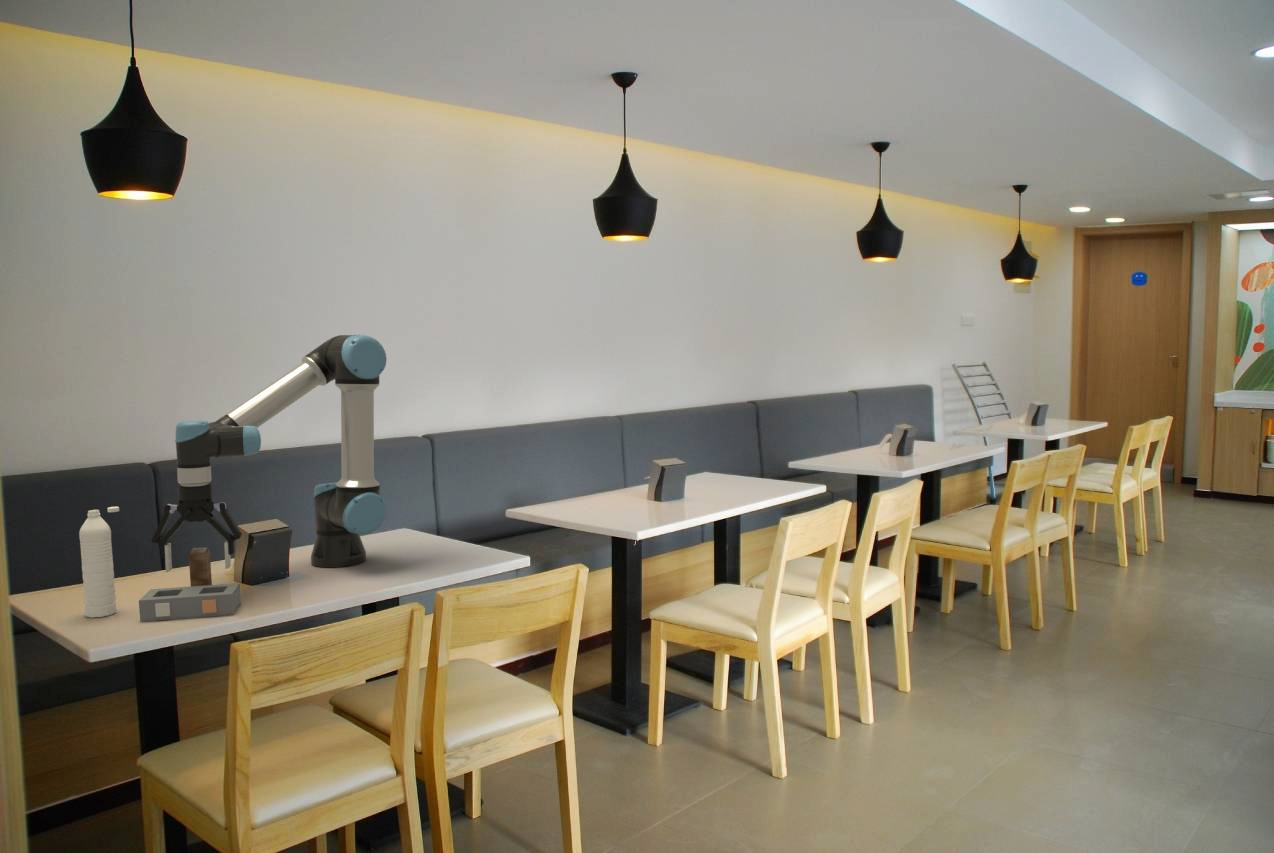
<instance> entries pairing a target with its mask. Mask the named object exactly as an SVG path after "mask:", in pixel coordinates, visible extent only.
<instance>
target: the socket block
mask: <svg viewBox="0 0 1274 853" xmlns="http://www.w3.org/2000/svg"><path fill="white" fill-rule="evenodd" d="M241 599H242V598H241V584H240V582H239V583H237V582H235V583H224V584H222V583H221V584H212V585H206V586H191V585H190V586H178V587H166V588H151V589H149V590H148V591H147V592H146V593H145V594H144V595H143V596H142V597H141V598H139V600H138V611H139V622H141V623H143V622H155V621H167V620H169V621H170V620H181V619H182V620H183V619H184V620H185V619H195V618H197V619H198V618H207V617H208V618H209V617H221V616H222V617H224V616H233V615H234V614H235V612H236V611H237V609H238V608H239V606H240V605H241Z"/></svg>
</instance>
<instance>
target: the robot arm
mask: <svg viewBox="0 0 1274 853" xmlns="http://www.w3.org/2000/svg"><path fill="white" fill-rule="evenodd" d="M386 366H387V353H386V350H385V347H383V344H381V343H380V341H378V339H376V338H373V337H372V336H370V335H365V334H351V335H350V334H348V335H346V334H343V335H341V334H340V335H336V336H334V337H333V336H332V337H331V338H329V339H328V340H326V341H324V342H323V343H321V344H320V345H319V346H317V347H316V348H314V349H313V350H312V351H309V353H307V354H306V355H305V356H303V357H302V358H301V363H299V364H298V365H296V366H294V367H293V368H291V370H289V371H287V372H286V373H285V374H283V375H282V376H280V377H279V378H277V379H276V380H274V381H273V382H271V383H270V384H268V385H267V386H266V387H264V388H262V389H261V390H259V391H258V392H257V393H255V394H254V395H253V396H251V397H250V398H248V399H246V400H245V401H243V402H242V403H240V404H239V405H237V406H236V407H235V408H233V409H232V410H230V411H229V412H228V413H226V414H225V415H223V416H221V417H219V418H218V419H217V420H216V421H213V422H212V421H211V422H209V421H207V420H201V419H200V420H184V421H179V422H177V424H176V425H175V439H174V440H175V441H174V442H175V450H176V451H175V452H176V463H177V464H176V467H177V468H176V472H177V483H178V486H177V490H178V491H177V492H178V493H177V494H178V504H172V503H167V504H166V505H165V506H164V508H163V509H164V511H163V515H162V517H161V519H160V521H159V524H158V526H157V528H156V529H155V532H154V534H153V536H152V537H151V539H150V540H151V543H152V544H158V545H159V547H160V548H159V549H160V550H159V551H160V557H161V559H164V558H165V560H164V561H165V573H168V572H171V571H172V570H173V563H172V562H173V561H172V543H171V542H169V540H170V539H171V538H172V537H173V536H174V534H175V533H176V532H177V531H178V530H179V529H180V527H181V526H182V525H183V524H184V523H185V522H186V521H187V522H188V523H194V522H198V523H199V522H200V523H202V522H204V521H206V522H207V523H208V524H210V525H211V526H212V527H213V528H214V529H215V530H216V531H217V532H218V533H219V534H220V535H221V536H222V537H223V538H224V539H225V540H226V541H224V544H223V545H224V567H225V568H224V569H225V570H228V569H230V568H231V567H232V564H231V561H232V560H231V555H233V554H235V541H236V540H239V539H240V538H242V537H243V534H242V532H241V529H239V526H238V525H237V524H236V522H235V521H234V519H233V517H232V515H231V514H230V512H229V510H228V506H227V504H228V503H227V502H226V501H221V502H217V503H215V502H214V501H213V489H212V488H213V487H212V483H210V482H211V481H212V462H211V460H212V459H217V458H231V457H247V456H253V455H254V456H255V455H257V454H258V453H259V452H260V450H261V445H262V438H261V434H260V433H261V432H260V431H259V429H258V428H259V427H260V426H263V425H264V424H265V423H267V422H268V421H269V420H271V419H273V418H274V417H275V416H276V415H278V414H280V413H281V412H282V411H284V410H285V409H287V408H288V407H290V406H291V405H292V404H294V403H295V402H297V401H298V400H299V399H301V398H302V397H304V396H305V395H307V394H308V393H309V392H311V391H312V390H314V389H315V388H317V387H319V386H323V387H325V386H326V385H327V384H329V383H330V382H333V381H334V385H335V386H336V387H337V388H338V389H339V390H340V417H341V418H340V426H341V427H340V430H341V432H340V433H341V435H340V436H341V437H340V438H341V441H340V442H341V445H340V448H341V462H340V463H341V465H340V466H341V478H340V479H339V480H338V481H336V482H329V483H328V482H327V483H320V484H317V485H315V487H314V492H313V500H314V517H315V518H314V520H315V532H316V533H315V535H316V536H315V540H314V544H313V549H312V552H311V555H310V564H311V565H312V566H314V567H319V568H342V567H349V566H355V565H358V564H360V563H363V562H365V561H366V560H367V551H366V548H365V546H364V543H363V540H362V538H361V536H360V535H370V534H372V533H374V532H375V531H377V530H378V529H379V528H380V526H382V525H383V523H384V522H385V519H386V517H387V513H388V512H387V511H388V510H387V503H386V501H385V500H384V498H383V497H382V496H381V495H380V494H381V493H380V492H381V490H380V482H379V481H378V480H377V479H376V478H375V452H374V451H375V435H374V432H375V430H374V429H375V428H374V426H375V425H374V424H375V422H374V420H375V419H374V418H375V414H374V413H375V412H374V410H375V408H374V406H375V401H374V398H375V397H374V396H375V395H374V393H375V390H376V389H377V388H378V387H379V386H380V375H382V373H383V372H384V370H385V368H386ZM215 509H216V511H217V512H220V515H221V516H222V518H223V519H224V522H225V524H226V525H227V527H228V528H229V530H228V528H226V527H225V525H224V524H222V523H221V521H219V520H218V519H217V518H216V516H215V515H214V514H213V511H214V510H215ZM175 511H177V512H178V513H179V514H180V515H181V516H180V517H179V518H178V520H177V521H176V522H175V523H174V524H173V526H172V527H171V528H170V529H169V530H168V532H167V533H166V534H164V536H163V537H162V535H163V532H164V530H165V529H166V527H167V524H168V522H169V521H170V518H171V516H172V514H174V513H175ZM230 531H231V532H230Z"/></svg>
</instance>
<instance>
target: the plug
mask: <svg viewBox="0 0 1274 853" xmlns="http://www.w3.org/2000/svg"><path fill="white" fill-rule="evenodd" d="M188 562H189V578H190V579H189V580H190V581H189V583H190V587H191V586H206V585H213V581H212V565H211V564H212V563H211V550H210V549H209V548H208V546H206V547H193V548H192V549H191V550H190V553H189V554H188Z"/></svg>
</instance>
